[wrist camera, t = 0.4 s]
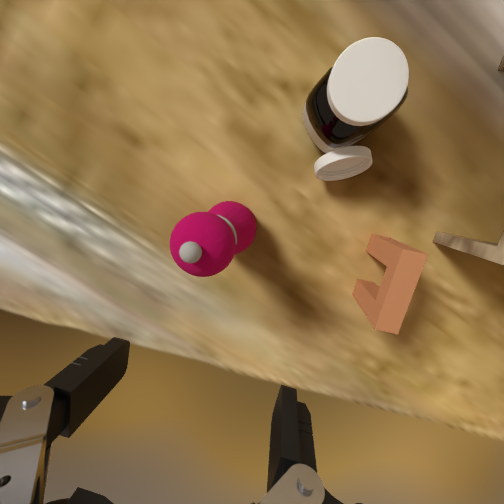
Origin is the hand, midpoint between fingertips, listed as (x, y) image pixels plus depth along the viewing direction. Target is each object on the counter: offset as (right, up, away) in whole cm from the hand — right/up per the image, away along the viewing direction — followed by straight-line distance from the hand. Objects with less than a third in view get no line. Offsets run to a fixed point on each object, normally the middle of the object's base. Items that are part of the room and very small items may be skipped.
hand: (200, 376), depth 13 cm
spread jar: (+15, +22, +22) cm, 34 cm away
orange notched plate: (+20, +4, +25) cm, 32 cm away
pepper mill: (0, +10, +26) cm, 28 cm away
